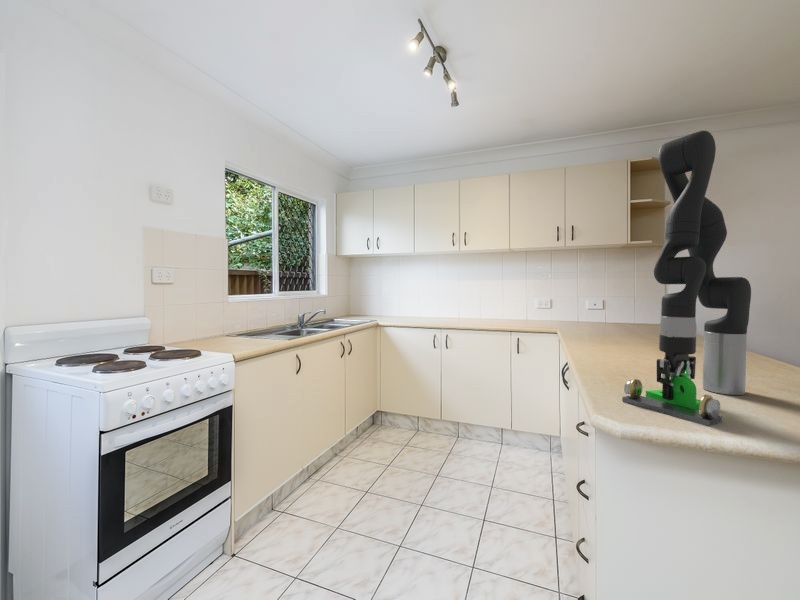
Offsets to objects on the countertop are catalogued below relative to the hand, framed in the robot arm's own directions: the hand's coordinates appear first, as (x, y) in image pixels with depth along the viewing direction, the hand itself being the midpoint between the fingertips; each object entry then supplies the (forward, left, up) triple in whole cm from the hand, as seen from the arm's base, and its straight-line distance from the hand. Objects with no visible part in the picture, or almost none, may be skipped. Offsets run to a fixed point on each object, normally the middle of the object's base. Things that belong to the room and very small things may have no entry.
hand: (675, 397), depth 93 cm
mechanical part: (0, 0, -2) cm, 2 cm away
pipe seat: (+7, +2, -2) cm, 8 cm away
